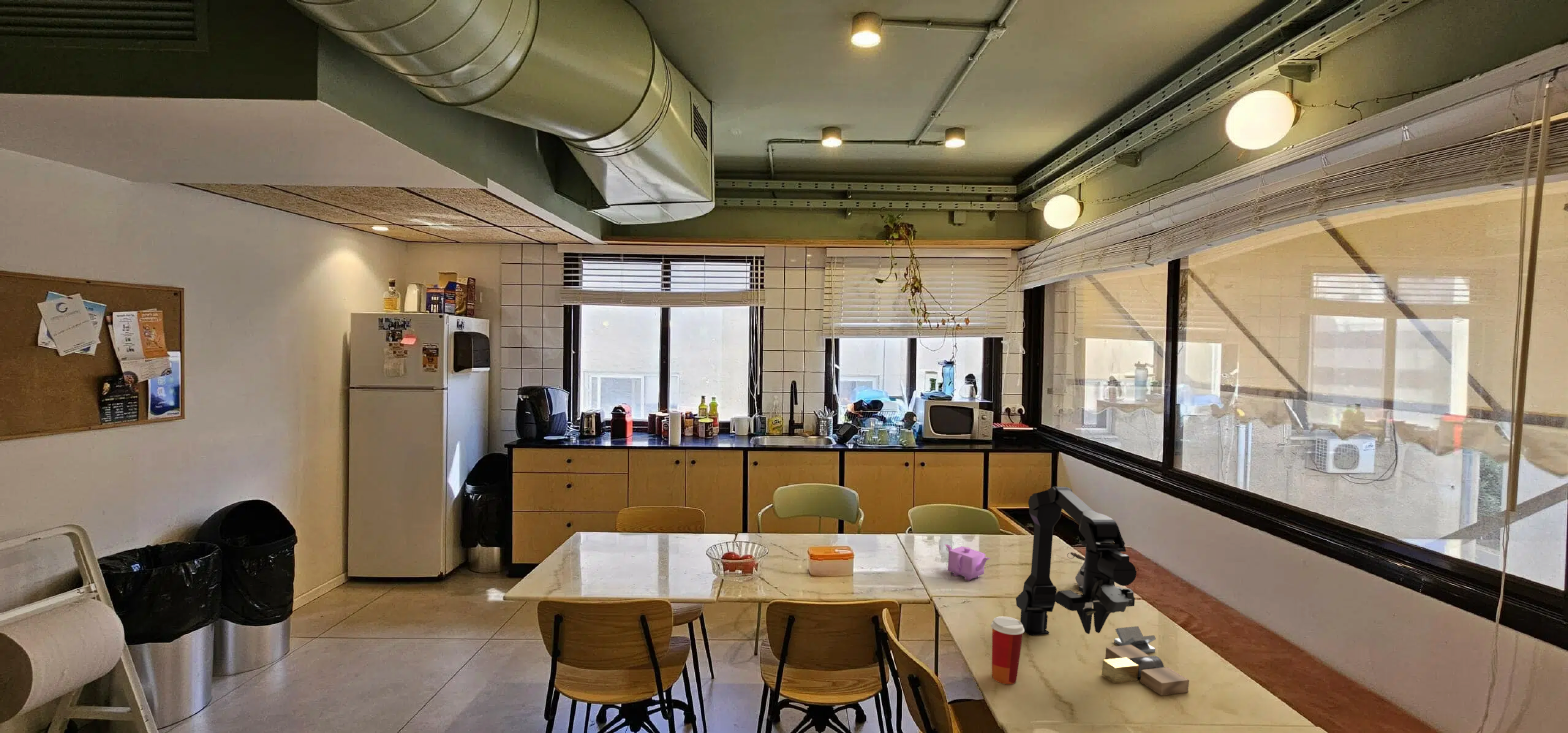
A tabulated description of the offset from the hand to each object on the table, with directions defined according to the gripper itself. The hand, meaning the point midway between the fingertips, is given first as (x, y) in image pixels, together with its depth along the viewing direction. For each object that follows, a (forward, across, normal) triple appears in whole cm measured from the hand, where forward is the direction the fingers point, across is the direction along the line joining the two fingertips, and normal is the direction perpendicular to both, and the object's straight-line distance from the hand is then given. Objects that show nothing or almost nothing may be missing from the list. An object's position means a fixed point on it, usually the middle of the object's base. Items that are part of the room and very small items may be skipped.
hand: (1092, 632), depth 163 cm
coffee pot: (+12, +40, +49) cm, 64 cm away
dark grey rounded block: (+12, +17, 0) cm, 21 cm away
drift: (+12, +9, 0) cm, 15 cm away
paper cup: (+12, -20, +5) cm, 24 cm away
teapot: (+12, +8, +69) cm, 70 cm away
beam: (+12, +17, 0) cm, 21 cm away
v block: (+12, +26, +13) cm, 31 cm away
